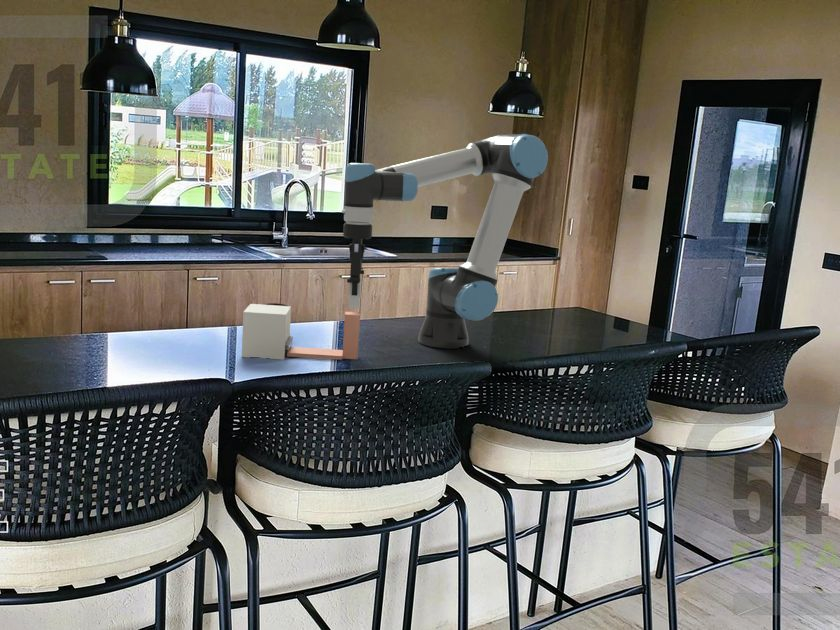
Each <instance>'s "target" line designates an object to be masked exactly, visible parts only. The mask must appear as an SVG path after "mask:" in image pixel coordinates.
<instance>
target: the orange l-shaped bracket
mask: <svg viewBox="0 0 840 630" xmlns="http://www.w3.org/2000/svg"><path fill="white" fill-rule="evenodd" d="M360 324H361V312H356V311H344V322H343V337H342V338H343V341H342V349H330V348H318V347H317V348H316V347H315V348H313V347H299V346H289V350H287V352H286V357H292V358H293V357H294V358H307V359H308V358H309V359H321V360H322V359H324V360H326V359H327V360H341V361H342V360H343V359H344V360H345V359H348V360H358V357H359V355H358V354H359V341H360V340H359V339H360Z"/></svg>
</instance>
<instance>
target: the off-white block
mask: <svg viewBox="0 0 840 630" xmlns="http://www.w3.org/2000/svg"><path fill="white" fill-rule="evenodd" d="M291 315H292V306H289V305H288V306H277V305H264V304H260V303H259V304H258V303H250V304H249V305H248V306H247V307H246V308H245V309H244V310H243V314H242V337H241V340H242V341H241V345H242V346H241V357H242V358H250V357H261V358H260V359H266V358H270V360H282V361H283V360H285V358H286V351H288V350H289V348H290V347H291V346H290V345H291V344H292V342H293V339H294V336H293V335H291V318H292V316H291Z"/></svg>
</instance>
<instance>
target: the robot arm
mask: <svg viewBox="0 0 840 630" xmlns="http://www.w3.org/2000/svg"><path fill="white" fill-rule="evenodd" d="M548 161H549V154H548V149H547V148H546V145H545V144H544V142H543V140H541V139H540V138H539V137H538V136H535V135H534V134H527V133H520V134H519V133H517V134H516V133H513V134H510V133H502V134H497V135H494V136H490V137H487V138H484V139H480V140H478V141H475V142H474V141H473V142H469V143H468V144H467V145H466V147H465V148H461V149H457V150H453V151H448V152H444V153H440V154H436V155H432V156H427V157H423V158H419V159H414V160H411V161H407V162H403V163H399V164H395V165H390V166H385V167H383V168H378V169H375V165H374V164H373V163H362V162H361V163H360V162H350V163H349V162H348V164H347V165H346V167H345V175H344V208H343V209H341V213H342V214H343V220H344V224H343V227H342V228H343V229H342V230H343V233H342V234H343V235H342V236H343V237H344V238H345V239H352V243H349V248H348V249H349V250H348V251H349V260H350V261H349V262H350V272H349V274H350V275H349V278H347V280H346V282H347V283H349V291H348V294H349V295H348V308H349V309H350V308H353V309H360V302H361V301H360V300H361V298H362V278H363V277H362V276H363V275H365V270H363V267H362V266H363V261H364V253H365V248H366V247H365V246H366V245H365V244H363V242H364V240H369V239H371V238H372V237H373V225H372V224H371V223H372V222H373V219H374V201H376V202H377V201H384V202H385V201H387V202H402V203H403V202H411V201H414V200H415V198H416V197H417V195H418V192H419V191H418V189H419V188H421V187H423V186H428V185H432V184H435V183H440V182H444V181H448V180H451V179H452V180H453V179H456V178H461V177H463V176H468V175H473V176H475V177H477V176H478V177H479V176H482V175H490V174H491V177H492V179H493V180H494V181H493V182H494V183H493V187H492V189H491V192H490V194H489V198H488V200H487V202H486V206H485V209H484V212H483V214H482V217H481V220H480V223H479V227H477V232H476V234H475V237H474V240H473V242H472V245H471V249H470V251H469V254H468V257H467V260H466V262H464V263H462V264H460V265H459V266H458V267H432V268H430V270H429V274H428V278H427V281H428V282H427V296H426V309H425V312H426V313H425V317H424V320H423V323H422V326H421V327H420V330H419V332H418V338H417V342H419V344H421V345H424V346H427V347H431V348H439V349H460V348H459V347H463V346H466V345H468V346H469V338H470V337H469V333H468V329H467V325H466V320H468V321H469V320H470V321H474V322H475V321H482V320H485V318H487V317H490V316H491V314H493V312H494V311H495V309H496V308H497V305H498V302H499V294H498V291H497V289H496V286H497V283H498V281H499V280H498V279H499V278H498V276H497V275H496V271H497V268H498V265H499V261H500V259H501V256H502V253H503V251H504V247H505V245H506V242H507V239H508V236H509V233H510V231H511V229H512V228H511V227H512V225H513V224H514V220H515V218H516V217H515V216H516V214H517V211H518V208H519V206H520V202H521V200H522V198H523V195H524V192H526V191H528V190H529V189H531V187H532V185H533V182H534V180H535V178H537V177H539V176H540V175H542V174H543V172H545V170H546V168H547V166H548ZM463 348H464V347H463Z"/></svg>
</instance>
